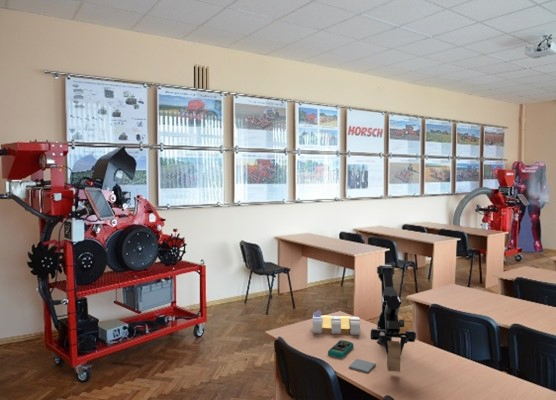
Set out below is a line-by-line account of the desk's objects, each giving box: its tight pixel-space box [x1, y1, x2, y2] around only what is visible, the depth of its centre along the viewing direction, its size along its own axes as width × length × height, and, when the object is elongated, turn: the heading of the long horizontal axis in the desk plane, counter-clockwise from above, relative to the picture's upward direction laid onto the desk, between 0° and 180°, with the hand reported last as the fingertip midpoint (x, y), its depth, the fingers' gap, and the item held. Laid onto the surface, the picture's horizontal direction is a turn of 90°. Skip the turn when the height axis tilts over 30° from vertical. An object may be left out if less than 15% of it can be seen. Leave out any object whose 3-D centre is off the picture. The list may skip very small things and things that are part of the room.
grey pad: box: [348, 358, 376, 374], centre depth 188 cm, size 9×9×1 cm
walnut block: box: [386, 340, 402, 373], centre depth 179 cm, size 5×5×11 cm
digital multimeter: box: [327, 339, 354, 359], centre depth 204 cm, size 8×15×3 cm, turn 150°
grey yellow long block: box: [312, 309, 361, 336], centre depth 229 cm, size 25×10×13 cm, turn 83°
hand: (394, 354), depth 177 cm, fingers closed on walnut block, 5 cm apart
